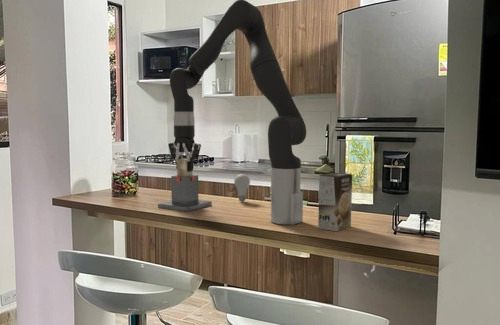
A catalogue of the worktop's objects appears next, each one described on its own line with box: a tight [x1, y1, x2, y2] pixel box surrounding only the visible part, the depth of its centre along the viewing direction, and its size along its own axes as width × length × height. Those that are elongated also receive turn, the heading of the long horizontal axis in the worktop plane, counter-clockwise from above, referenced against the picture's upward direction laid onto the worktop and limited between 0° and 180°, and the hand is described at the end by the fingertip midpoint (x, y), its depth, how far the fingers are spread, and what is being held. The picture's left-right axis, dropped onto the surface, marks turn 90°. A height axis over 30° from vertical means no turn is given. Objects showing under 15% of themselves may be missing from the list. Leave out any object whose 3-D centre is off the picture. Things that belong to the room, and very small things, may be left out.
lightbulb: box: [233, 173, 251, 203], centre depth 176 cm, size 6×6×11 cm
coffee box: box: [317, 172, 353, 232], centre depth 134 cm, size 9×6×16 cm
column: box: [176, 158, 194, 177], centre depth 166 cm, size 4×4×16 cm
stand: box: [157, 174, 213, 213], centre depth 167 cm, size 14×14×12 cm
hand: (184, 170), depth 166 cm, fingers open, 4 cm apart
